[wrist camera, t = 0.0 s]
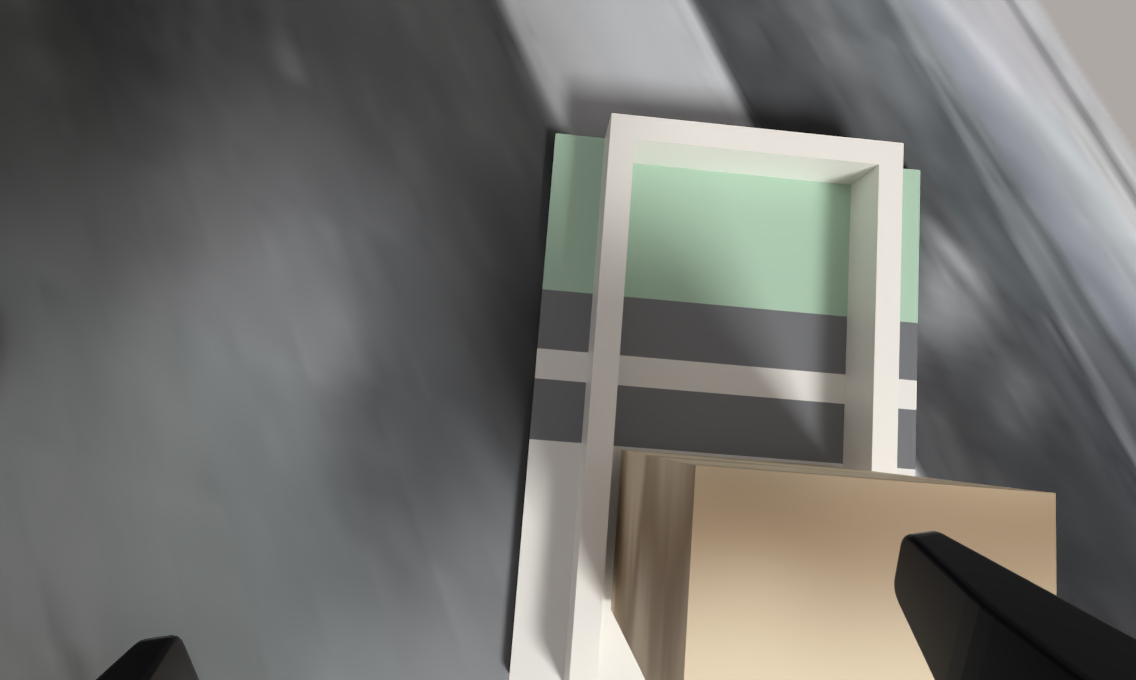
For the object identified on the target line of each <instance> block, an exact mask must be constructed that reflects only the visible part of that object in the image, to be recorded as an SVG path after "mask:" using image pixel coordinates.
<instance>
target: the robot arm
mask: <svg viewBox="0 0 1136 680" xmlns="http://www.w3.org/2000/svg"><path fill="white" fill-rule="evenodd" d="M894 589H895V594H896V598H897V600H898V603H899V605H900V607H901V609H902V611H903V614H904V616H905V618H906V620H907V622H908V624H909V626H910V629H911V631H912V633H913V635H914V637H915V639H916V641H917V643H918V646H919V648H920V650H921V652H922V654H923V656H924V658H925V661H926V663H927V665H928V667H929V669H930V671H931V673H932V675H933V678H934V680H1136V639H1135V638H1134V637H1132V636H1130V635H1128V634H1126V633H1124V632H1123V631H1121V630H1119V629H1117V628H1115V627H1113V626H1112V625H1110V624H1108V623H1106V622H1104V621H1102V620H1101V619H1099V618H1097V617H1095V616H1093V615H1091V614H1090V613H1088V612H1086V611H1084V610H1082V609H1080V608H1078V607H1077V606H1075V605H1073V604H1071V603H1069V602H1067V601H1066V600H1064V599H1062V598H1060V597H1058V596H1056V595H1055V594H1053V593H1051V592H1049V591H1047V590H1045V589H1044V588H1042V587H1040V586H1038V585H1036V584H1034V583H1033V582H1031V581H1029V580H1027V579H1025V578H1023V577H1022V576H1020V575H1018V574H1016V573H1014V572H1012V571H1011V570H1009V569H1007V568H1005V567H1003V566H1001V565H1000V564H998V563H996V562H994V561H992V560H990V559H989V558H987V557H985V556H983V555H981V554H979V553H977V552H976V551H974V550H972V549H970V548H968V547H966V546H965V545H963V544H961V543H959V542H957V541H955V540H954V539H952V538H950V537H948V536H946V535H944V534H942V533H940V532H937V531H927V532H920V533H912V534H908V535H906V536H905V537H904V538H903V539H902V541H901V545H900V551H899V556H898V562H897V567H896V573H895V578H894ZM96 680H199V678H198V676H197V674H196V671H195V669H194V667H193V664H192V662H191V659H190V657H189V655H188V652H187V650H186V648H185V645H184V643H183V641H182V640H181V639H180V638H179V637H177V636H173V635H170V636H163V637H155V638H148V639H144V640H141V641H139V642H138V643H136V644H135V645H134V646H132V647H131V648H130V649H129V650H128V651H127V652H126V653H125V654H124V655H123V656H121V657H120V658H119V659H118V660H117V661H116V662H115V663H114V664H113V665H112V666H110V667H109V668H108V669H107V670H106V671H105V672H104V673H103V674H102V675H101V676H99V677H98V678H97V679H96Z"/></svg>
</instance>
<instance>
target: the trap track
mask: <svg viewBox="0 0 1136 680" xmlns="http://www.w3.org/2000/svg"><path fill="white" fill-rule="evenodd" d="M903 145H904V143H896V142H886V141H877V140H867V139H858V138H848V137H838V136H829V135H819V134H810V133H800V132H790V131H781V130H771V129H761V128H752V127H742V126H733V125H723V124H713V123H704V122H694V121H684V120H675V119H665V118H656V117H646V116H636V115H627V114H617V113H612V114H611V117H610V121H609V124H608V128H607V131H606V135H605V138H599V137H589V136H579V135H569V134H559V133H556V135H555V145H554V157H553V168H552V180H551V192H550V204H549V216H548V227H547V239H546V251H545V263H544V274H543V286H542V298H541V310H540V321H539V333H538V345H537V357H536V369H535V380H534V392H533V404H532V416H531V427H530V439H529V451H528V463H527V474H526V486H525V498H524V510H523V522H522V533H521V545H520V557H519V569H518V580H517V592H516V604H515V616H514V627H513V639H512V651H511V663H510V675H509V680H645V678H644V676H643V674H642V672H641V670H640V668H639V666H638V664H637V662H636V660H635V658H634V656H633V654H632V652H631V650H630V648H629V646H628V644H627V641H626V639H625V637H624V635H623V633H622V631H621V629H620V627H619V625H618V623H617V621H616V619H615V617H614V615H613V613H612V611H611V597H612V583H613V568H614V553H615V539H616V524H617V510H618V495H619V480H620V466H621V451H622V450H632V451H645V452H658V453H670V454H683V455H696V456H709V457H721V458H734V459H747V460H759V461H772V462H785V463H798V464H810V465H823V466H834V467H843V468H851V469H859V470H867V471H876V472H884V473H892V474H900V475H909V476H915V453H916V393H917V334H918V274H919V215H920V170H912V169H903Z"/></svg>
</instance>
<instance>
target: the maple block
mask: <svg viewBox="0 0 1136 680" xmlns="http://www.w3.org/2000/svg"><path fill="white" fill-rule="evenodd" d="M927 531H937V532H940V533H942V534H944V535H946V536H948V537H950V538H952V539H954V540H955V541H957V542H959V543H961V544H963V545H965V546H966V547H968V548H970V549H972V550H974V551H976V552H977V553H979V554H981V555H983V556H985V557H987V558H989V559H990V560H992V561H994V562H996V563H998V564H1000V565H1001V566H1003V567H1005V568H1007V569H1009V570H1011V571H1012V572H1014V573H1016V574H1018V575H1020V576H1022V577H1023V578H1025V579H1027V580H1029V581H1031V582H1033V583H1034V584H1036V585H1038V586H1040V587H1042V588H1044V589H1045V590H1047V591H1049V592H1051V593H1053V594H1055V595H1056V493H1049V492H1041V491H1033V490H1024V489H1016V488H1008V487H1000V486H991V485H983V484H975V483H967V482H958V481H950V480H942V479H934V478H925V477H917V476H909V475H900V474H892V473H884V472H876V471H867V470H859V469H851V468H843V467H834V466H823V465H810V464H798V463H785V462H772V461H759V460H747V459H734V458H721V457H709V456H696V455H683V454H670V453H658V452H645V451H632V450H622V451H621V466H620V480H619V495H618V510H617V524H616V539H615V553H614V568H613V583H612V597H611V611H612V613H613V615H614V617H615V619H616V621H617V623H618V625H619V627H620V629H621V631H622V633H623V635H624V637H625V639H626V641H627V644H628V646H629V648H630V650H631V652H632V654H633V656H634V658H635V660H636V662H637V664H638V666H639V668H640V670H641V672H642V674H643V676H644V678H645V680H934V678H933V675H932V673H931V671H930V669H929V667H928V665H927V663H926V661H925V658H924V656H923V654H922V652H921V650H920V648H919V646H918V643H917V641H916V639H915V637H914V635H913V633H912V631H911V629H910V626H909V624H908V622H907V620H906V618H905V616H904V614H903V611H902V609H901V607H900V605H899V603H898V600H897V598H896V594H895V589H894V578H895V573H896V567H897V562H898V556H899V551H900V545H901V541H902V539H903V538H904V537H905V536H906V535H908V534H912V533H920V532H927Z"/></svg>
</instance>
